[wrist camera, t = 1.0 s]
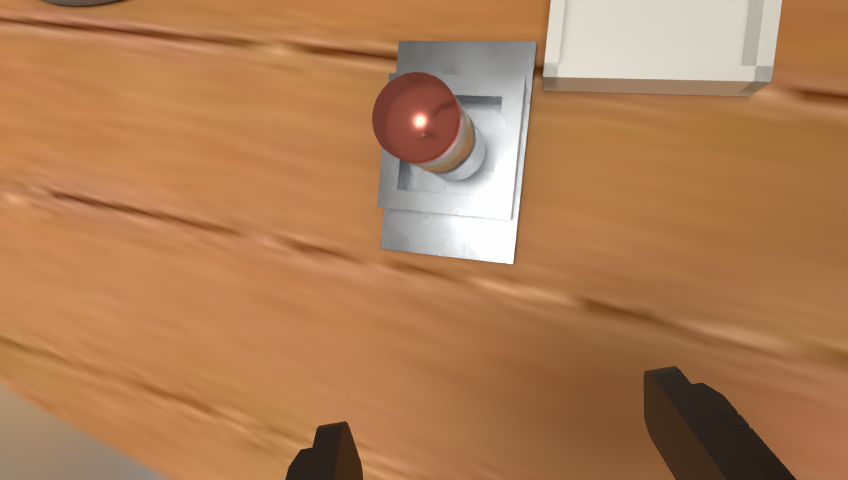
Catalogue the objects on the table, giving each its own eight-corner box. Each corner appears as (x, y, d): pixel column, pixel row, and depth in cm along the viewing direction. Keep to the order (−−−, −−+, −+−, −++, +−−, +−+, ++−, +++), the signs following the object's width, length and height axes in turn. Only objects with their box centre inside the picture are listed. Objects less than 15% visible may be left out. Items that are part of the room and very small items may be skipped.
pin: (428, 117, 32) (376, 71, 22) (488, 120, 31) (461, 72, 21) (422, 178, 32) (368, 158, 22) (482, 182, 31) (452, 163, 21)
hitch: (402, 45, 33) (388, 27, 30) (536, 46, 31) (535, 27, 28) (384, 248, 34) (368, 250, 31) (513, 263, 32) (510, 267, 29)
